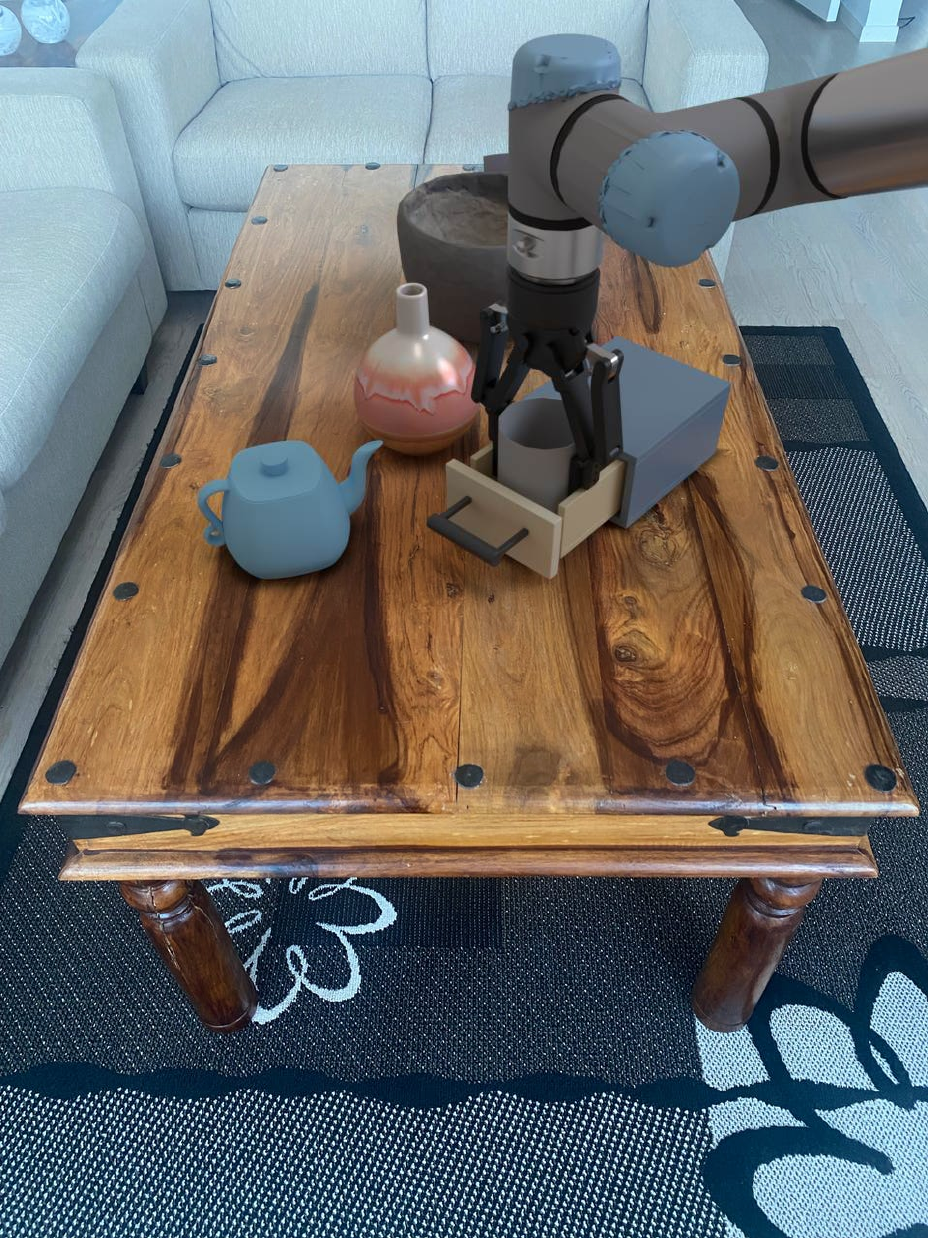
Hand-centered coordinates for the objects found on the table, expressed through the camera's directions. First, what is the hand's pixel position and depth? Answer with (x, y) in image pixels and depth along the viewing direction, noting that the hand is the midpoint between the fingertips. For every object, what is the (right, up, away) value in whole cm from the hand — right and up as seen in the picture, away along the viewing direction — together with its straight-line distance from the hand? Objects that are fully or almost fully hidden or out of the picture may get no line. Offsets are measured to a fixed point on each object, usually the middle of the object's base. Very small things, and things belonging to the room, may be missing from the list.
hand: (540, 489), depth 89 cm
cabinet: (+9, +4, +10) cm, 14 cm away
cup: (0, -2, +2) cm, 3 cm away
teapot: (-24, -5, +2) cm, 24 cm away
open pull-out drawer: (-1, -3, +2) cm, 4 cm away
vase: (-12, +7, +14) cm, 20 cm away
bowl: (-4, +26, +31) cm, 41 cm away
